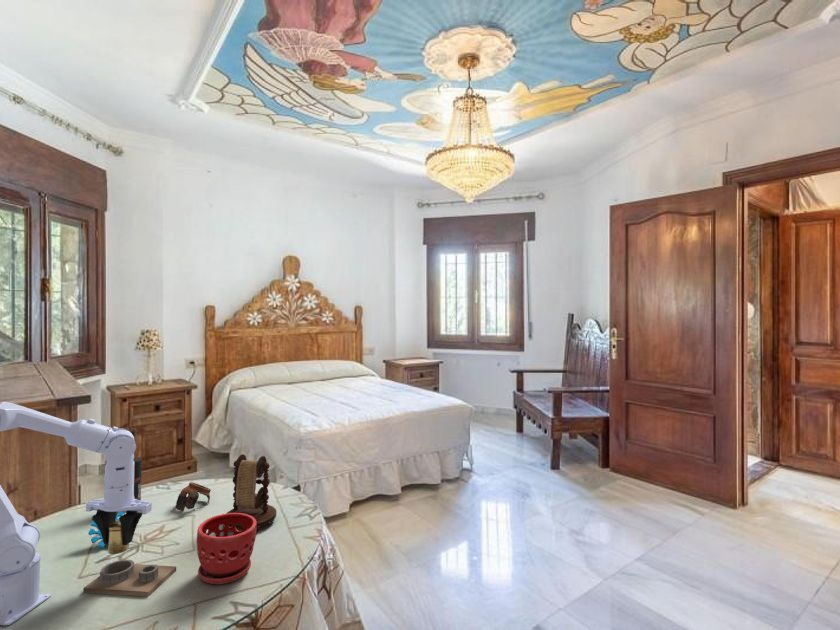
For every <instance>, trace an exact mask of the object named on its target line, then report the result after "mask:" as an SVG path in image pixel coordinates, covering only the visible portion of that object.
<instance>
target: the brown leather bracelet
mask: <svg viewBox="0 0 840 630" xmlns="http://www.w3.org/2000/svg"><path fill="white" fill-rule="evenodd" d="M210 492H211V488H209V487H208V486H207V487H206V486H205V485H202V484H198V483H195V482H189V483H188V485H187V486H185V487H184V488H182V489H181V491H180V493H179V494H178V496H177V500H176V501H175V509H176V510H178V511H180V512H185V508H186V509H188V510H192V509H194V508H195V506H196V503H197V501H198V500H199V498H200V497H199V496H200V495H203V496H205V497H206V498H207V503H208V504H209V503H210V499H211V495H210ZM207 503H206V504H207Z"/></svg>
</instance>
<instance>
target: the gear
mask: <svg viewBox="0 0 840 630" xmlns="http://www.w3.org/2000/svg"><path fill="white" fill-rule="evenodd" d="M124 514H125V512H117V515H116V519H115V521H118V520H119V517H121V516H123V515H124ZM90 526H91V527H95V528H96V529H97V530H95V529H94V528H90V529H89V531H88V533H87V534H88V535H89V536H92V535H97V536H93V537H91V538H90V540H91V543H92V544H94V543H95V544H96V542H98V541H99V540H103V538H102V535H101V532H100V530H99V528H98V526H97V525H96V523H95V522H94V521H93V520H92V522H91V523H90ZM105 545H106V544H104V542H103V541H100V542H99V543H98V547H99V548H101V549H103V548H104V546H105Z"/></svg>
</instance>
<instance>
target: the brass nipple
mask: <svg viewBox="0 0 840 630" xmlns="http://www.w3.org/2000/svg"><path fill="white" fill-rule="evenodd" d="M108 530H109V539H108V544H107V545H108V546H107V553H108V554H110V555H118V554H123V553H124V552H126V551H128V550H129V548H130V543H129V544H127V545H123V541H122V526H121V523H120V521H119V520H118V521H115V522H112V523H110V524H109V525H108Z"/></svg>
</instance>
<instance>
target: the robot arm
mask: <svg viewBox="0 0 840 630" xmlns="http://www.w3.org/2000/svg"><path fill="white" fill-rule="evenodd" d="M17 428H24V429H29V430H31V431H36V432H40V433H45V434H50V435H54V436H56V437H57V436H58V437H63V439H64V440H65V442H66V445H69V446H71V447H75V448H79V449H84V450H87V451H91V452H95V453H99V454H101V453H104V454H105V456H106V462H105V466H104V493H103V495H104V497H103V499H92V500H89V501H88V502H86V503H85V512H92V511H96V513H95V514H94V515H92V516H91V519H92V522H93V521H94V522H95V523H96V525H97V526H98V528H99V530H100V532H101V535H102V538H103V539H102V542H104V544H105V545H108V539H109V530H108V525H109V524H110V523H112V522H115V519H116V516H117V514H118V512H123V513H124V514H123V515H122V516H121V517H118V519H119V521H120V523H121V526H122V541H123V545H127V544H129V545H130V543H131V542H133V538H134V536H135V535H134V534H135V532H136V529H137V527H138V524H139V521H140V520H141V517H143V515H147V514H149V513H151V511H152V508H153V507H152V505H153V504H152V502H149V501H143V500H142V499H141V500H137V499H134V461H133V459H134V457H135V452H136V449H137V445H136V441H135V437H134V435H133V433H132V432H131V431H129V430H127V429H126V428H119V427H118V426H113V427H110V426H107V425H103V424H99V423H96V419H94V418H91V417H90V418H88V420H87V419H79V420H77V421H73V422H72V421H68V420H65V419H63V418H60V417H55V416H53V415H49V414H47V413H44V412H41V411H39V410H35V409H32V408H29V407H26V406H23V405H20V404H18V403H13V402H9V401H2V402H1V401H0V432H3V431H4V432H5V431H9V430H13V429H17ZM2 487H3V486H2V485H1V484H0V626H10V625H12V624H14V623H15V622H16V621H18V620H19V619H20V618H22V617H23V616H25V615H26V614H27V613H29V612H31V611H32V610H33V609H35V608H36V607H38V606H39V605H40V604H42V603H43V602H45V601H46V600H48V599H49V598H50V597H51V593H41V592H40V591H41V589H40V588H41V587H40V585H41V583H40V582H41V581H40V580H41V554H39V552H37V551H36V550H37V545H38V543H39V541H40V538H41V532H40V530H39V528H38V527H37V526H36V525H33V524H31V523H30V522H28V521H27V520H26V518H25V516H23V515H21V514H19V513H18V512H17V509H16V508H15V506H14V505H13V504H12V502H11V500H10V499H9V497H8V495H7V494H6V492H5V491H4V489H3V488H2Z"/></svg>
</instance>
